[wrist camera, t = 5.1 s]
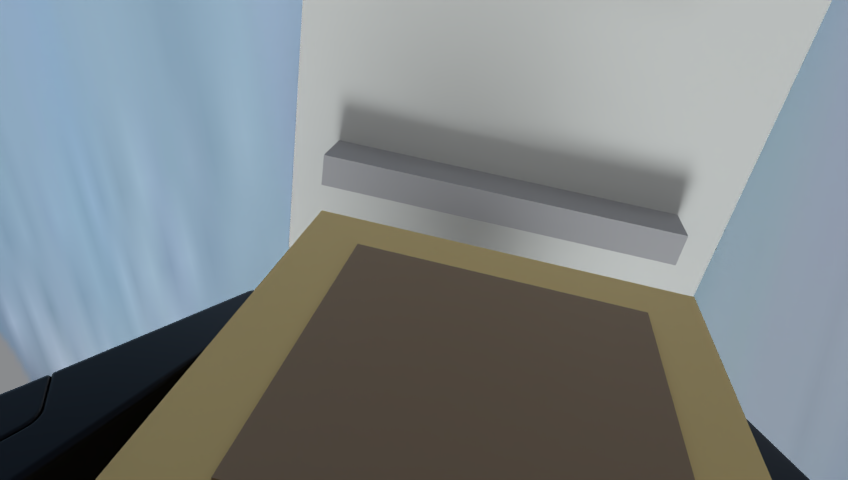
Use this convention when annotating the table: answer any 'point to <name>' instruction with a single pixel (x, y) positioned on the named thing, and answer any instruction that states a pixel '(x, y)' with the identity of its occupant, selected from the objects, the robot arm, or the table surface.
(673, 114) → the mat
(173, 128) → the table surface
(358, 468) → the tile
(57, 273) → the table surface
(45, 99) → the table surface
